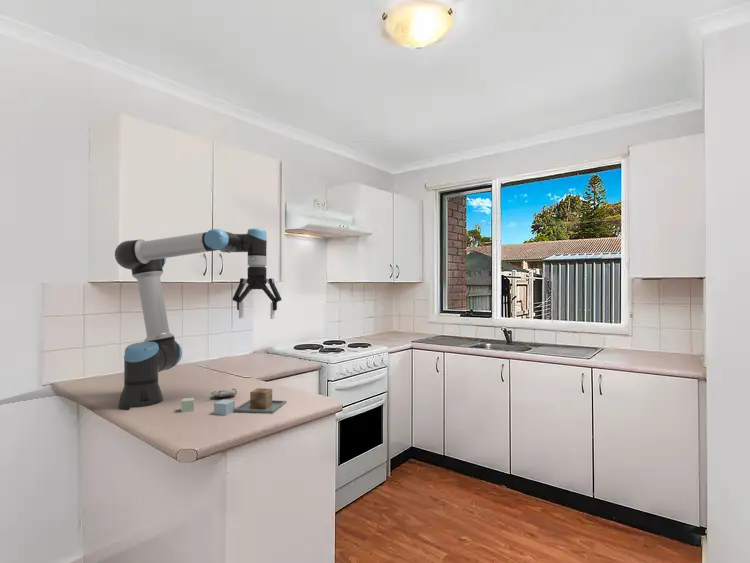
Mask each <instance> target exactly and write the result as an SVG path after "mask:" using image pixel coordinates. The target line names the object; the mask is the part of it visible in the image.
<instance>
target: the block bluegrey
mask: <svg viewBox="0 0 750 563" xmlns="http://www.w3.org/2000/svg"><path fill="white" fill-rule="evenodd" d="M235 408H236V401H235V400H231V399H221V400H218V401H216V402H213V414H214V415H218V416H227V415H230V414H232V413H235V412H234V409H235Z"/></svg>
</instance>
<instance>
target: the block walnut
mask: <svg viewBox="0 0 750 563" xmlns="http://www.w3.org/2000/svg"><path fill="white" fill-rule="evenodd" d="M249 400H250V409H267V408H269V407H270V406H271V405H272V400H273V388H262V387H261V388H260V387H257V388H255V389H253V390H251V391H250V392H249Z"/></svg>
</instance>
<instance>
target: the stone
mask: <svg viewBox="0 0 750 563" xmlns="http://www.w3.org/2000/svg"><path fill="white" fill-rule="evenodd" d="M210 394H211V396H213V397H215V398H223V397H224V398H226V397H227V396H230V397H232V396H233V397H234V396H236V395H237V394H238V392H237V388H231V389H227V390H226V389H225V390H224V389H223V390H218V391H216V390H215V391H213V392H211V393H210Z"/></svg>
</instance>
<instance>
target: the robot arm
mask: <svg viewBox="0 0 750 563" xmlns="http://www.w3.org/2000/svg"><path fill="white" fill-rule="evenodd" d="M267 241H268V239H267V231H266V229H265V228H264V229H263V228H258V227H257V228H255V227H254V228H248V229H247V232H246V233H232V232H229V231H225V230H222V229H219V228H212V229H209V230H207V231H205V232H198V233H191V234H184V235H179V236H178V235H176V236H171V237H165V238H164V237H163V238H160V239H159V238H158V239H151V240H145V239H143V238H142V239H140V238H139V239H133V240H125V241H122V242H120V243H119V244H118V245H117V247H116V248H115V250H114V258H115V261H116V263H117V264H118V265H119V266H120V267H122V268H124V269H126V270H131V275H132V277H133V278H134V279H136V281H137V286H138V291H139V297H140V303H141V309H142V315H143V321H144V327H145V332H146V337H145V339H144V340H143V341H141V342H136V343H132V344H129V345H127V346H126V347H125V349H124V354H123V361H124V364H123V367H124V369H123V371H124V373H123V376H124V377H123V378H124V379H123V382H124V383H123V385H124V386H123V388H122V391H121V394H120V396H119V400H118V408H120V409H122V410H130V409H133V408H134V409H137V408H144V407H150V406H155V405H158V404H160V403H162V402H163V401H164V396H163V394H162V390H161V387H160V384H159V373H160V372H162V371H166V370H170V369H172V368H173V367H176V366H177V365H178V364H179V363H180V361H181V359H182V357H183V349H182V347H181V344H180V343H178V342H177V341H176V338H175V335H174V334H172V333H171V332H170V327H169V322H168V315H167V309H166V305H165V299H164V294H163V293H164V292H163V288H162V280H161V276H162V275H163V274H164V271H163V270H164V269H163V268H164V266H165V265H166V263H167V262H166V260H167V258H174V257H175V258H176V257H180V256H187V255H194V254H195V255H196V254H199V253H200V254H201V253H207V252H215V251H220V252H221V253H229V254H230V253H247V266H248V267H247V278H244V277H243V278H239V284H238V286H237V289H236V290H235V293H234V295H233V297H232V301H233V302H236V310H237V311H238V319H244V316H245V315H244V312H245V311H244V308H245V307H244V306H245V305H244V299H245V298H246V297H247V296H248V295H249V293H250V292H251V291H252V290H262V291H263V292H264V293H265V295H266V296H267V298H269V300H270V307H269V308H270V312H269V313H270V320H273V319H275V318H276V311H277V310H278V302H282V297H281V295H280V293H279V291H278V289H277V286H276V285H275V279H274V278H272V277H270V278H267V267H266V266H267V249H268V248H267V246H268V245H267V243H268V242H267ZM246 284H248V285H247V286H246V287H245V285H246ZM266 284H268V285H269V287H270V289H269V288H268V286H267V285H266ZM244 287H245V289H244ZM270 290H271V291H270Z"/></svg>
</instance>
